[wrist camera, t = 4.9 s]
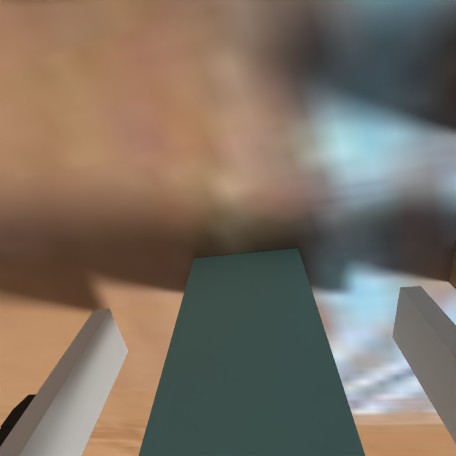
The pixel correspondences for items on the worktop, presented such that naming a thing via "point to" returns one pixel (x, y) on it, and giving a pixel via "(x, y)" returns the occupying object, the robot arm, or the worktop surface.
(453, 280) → the domino
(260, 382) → the domino
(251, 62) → the worktop surface
